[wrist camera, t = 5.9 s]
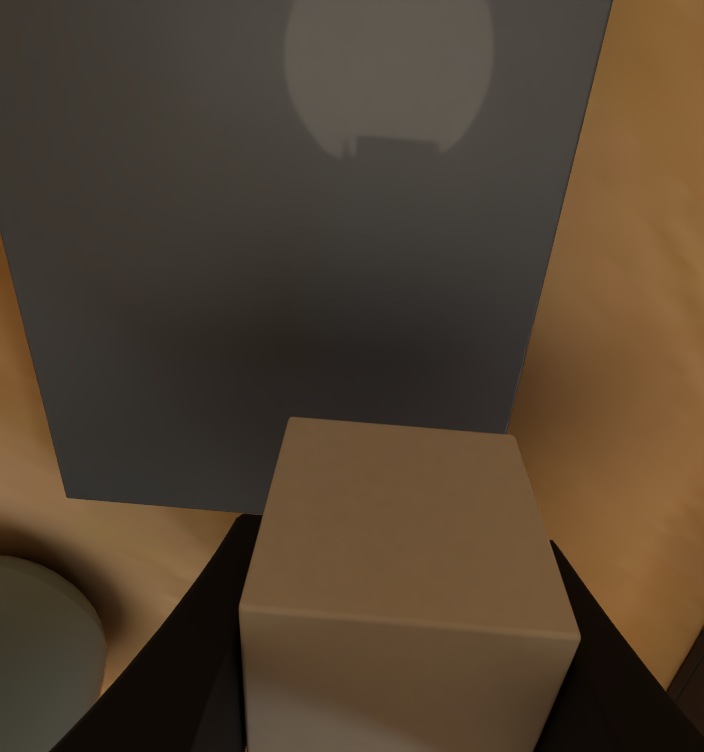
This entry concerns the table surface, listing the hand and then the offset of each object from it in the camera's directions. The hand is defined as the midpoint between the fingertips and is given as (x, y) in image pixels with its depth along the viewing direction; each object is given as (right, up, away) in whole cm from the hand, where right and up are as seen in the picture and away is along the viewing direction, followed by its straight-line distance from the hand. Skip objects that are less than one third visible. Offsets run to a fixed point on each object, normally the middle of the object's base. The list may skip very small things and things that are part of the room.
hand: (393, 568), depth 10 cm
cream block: (0, +1, +1) cm, 1 cm away
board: (-2, +6, +4) cm, 7 cm away
